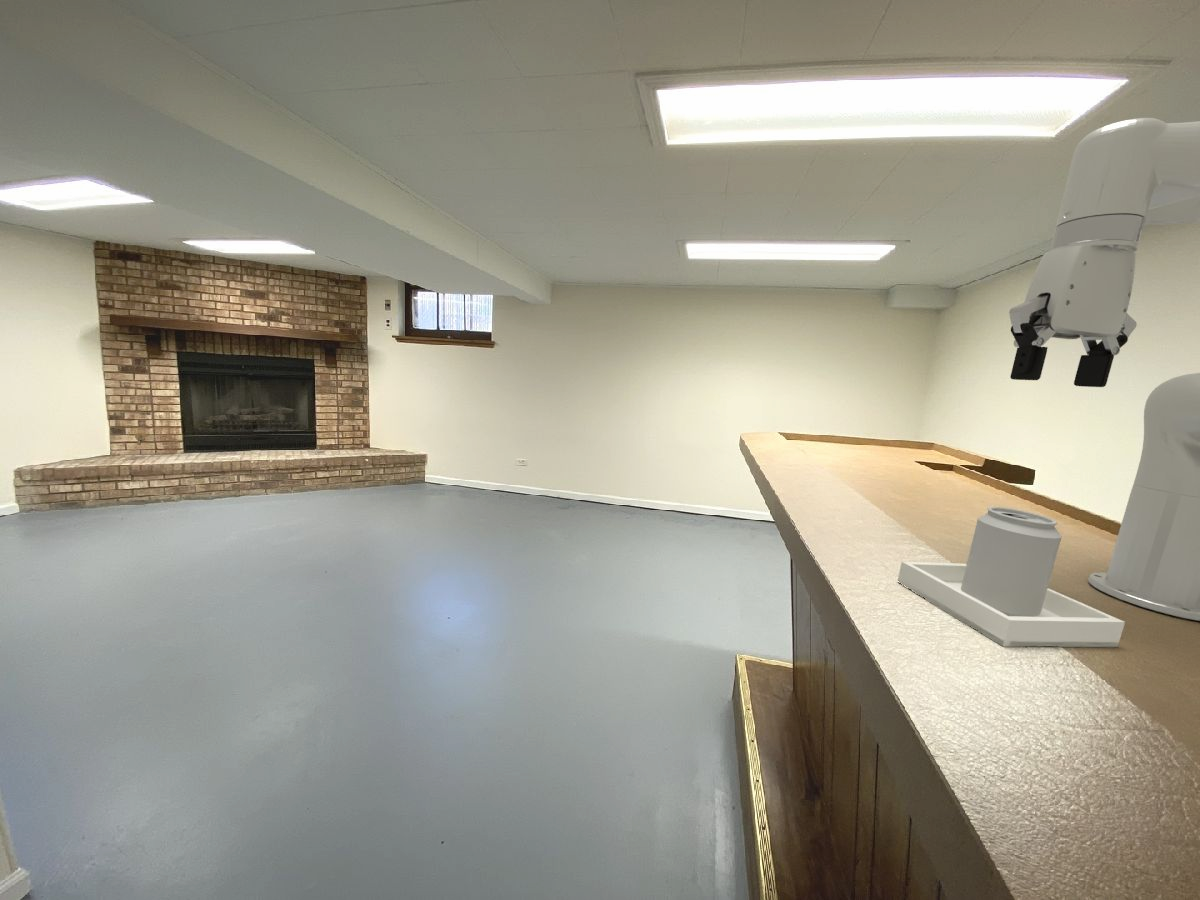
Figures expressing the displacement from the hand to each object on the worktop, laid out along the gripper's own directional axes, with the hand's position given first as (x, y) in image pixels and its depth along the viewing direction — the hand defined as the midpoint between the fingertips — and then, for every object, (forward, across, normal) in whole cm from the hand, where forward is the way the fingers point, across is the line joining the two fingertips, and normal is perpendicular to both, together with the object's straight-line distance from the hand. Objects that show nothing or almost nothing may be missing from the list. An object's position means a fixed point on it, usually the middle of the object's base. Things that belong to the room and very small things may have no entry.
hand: (1056, 383), depth 59 cm
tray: (+28, +8, +6) cm, 30 cm away
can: (+28, +8, +6) cm, 30 cm away
